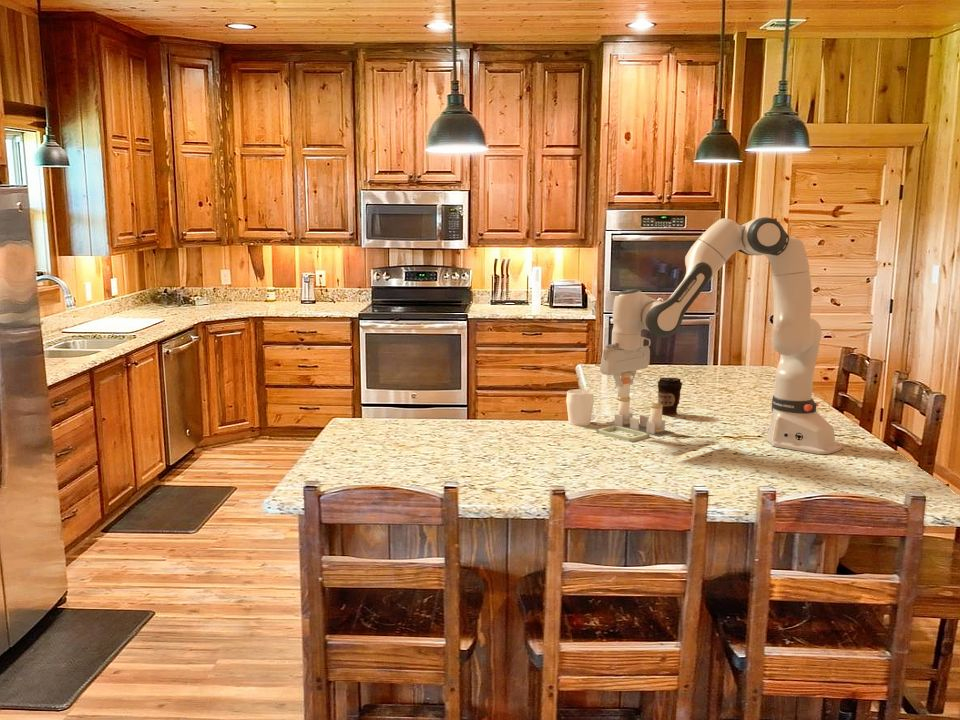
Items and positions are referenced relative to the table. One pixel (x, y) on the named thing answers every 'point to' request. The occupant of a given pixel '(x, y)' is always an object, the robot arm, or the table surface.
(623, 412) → the fuse
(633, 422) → the fuse block
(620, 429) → the tray
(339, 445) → the table surface
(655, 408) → the fuse
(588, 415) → the cup
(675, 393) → the coffee cup
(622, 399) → the fuse marked
